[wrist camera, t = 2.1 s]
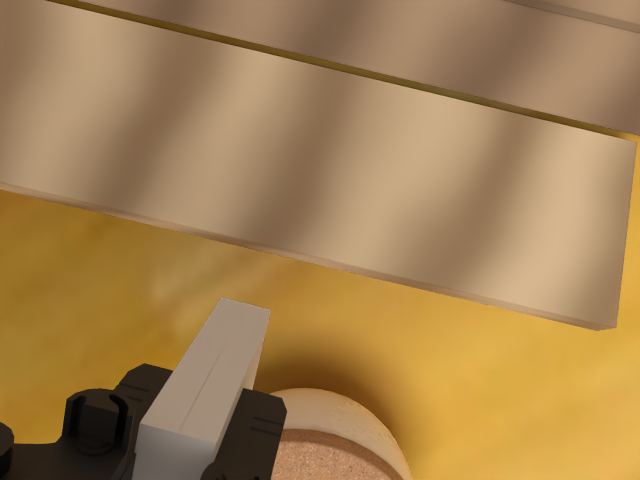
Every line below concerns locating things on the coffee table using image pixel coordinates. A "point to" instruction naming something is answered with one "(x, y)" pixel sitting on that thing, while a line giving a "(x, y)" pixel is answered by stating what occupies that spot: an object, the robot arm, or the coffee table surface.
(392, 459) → the lidded jar
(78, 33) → the plank
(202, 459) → the robot arm
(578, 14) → the laid board
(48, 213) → the coffee table surface
